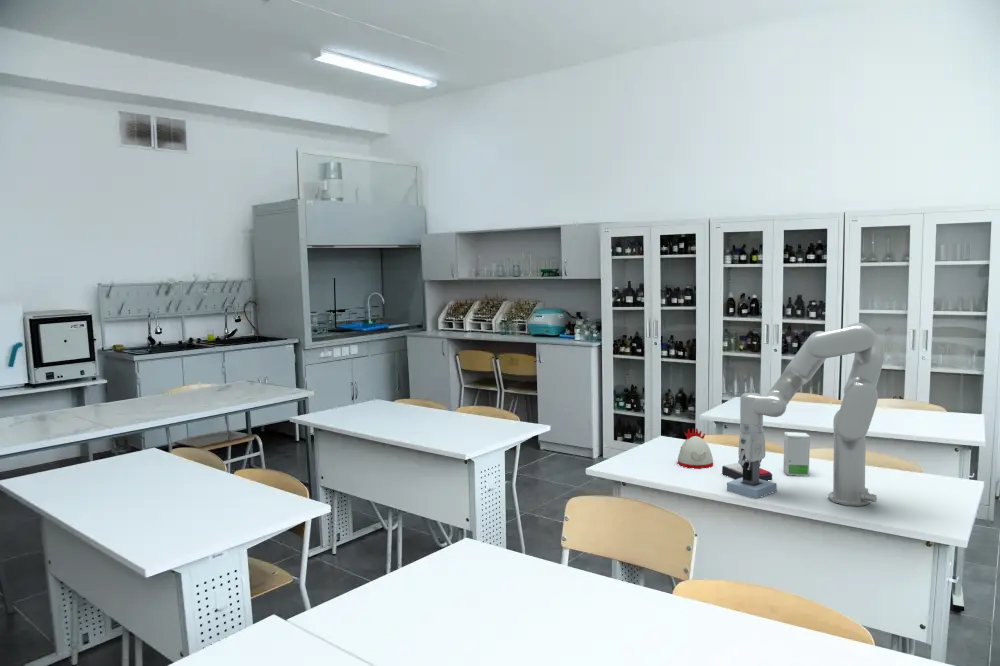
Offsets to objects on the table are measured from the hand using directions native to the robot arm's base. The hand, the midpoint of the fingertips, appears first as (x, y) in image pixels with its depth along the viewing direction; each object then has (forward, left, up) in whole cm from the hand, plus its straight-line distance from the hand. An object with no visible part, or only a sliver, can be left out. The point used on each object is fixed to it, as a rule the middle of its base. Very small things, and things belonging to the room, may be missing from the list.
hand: (751, 478), depth 242 cm
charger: (0, 0, -2) cm, 2 cm away
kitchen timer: (+35, -14, -5) cm, 38 cm away
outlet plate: (0, 0, -5) cm, 5 cm away
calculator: (+11, -13, -5) cm, 18 cm away
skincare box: (+1, -31, -5) cm, 31 cm away
